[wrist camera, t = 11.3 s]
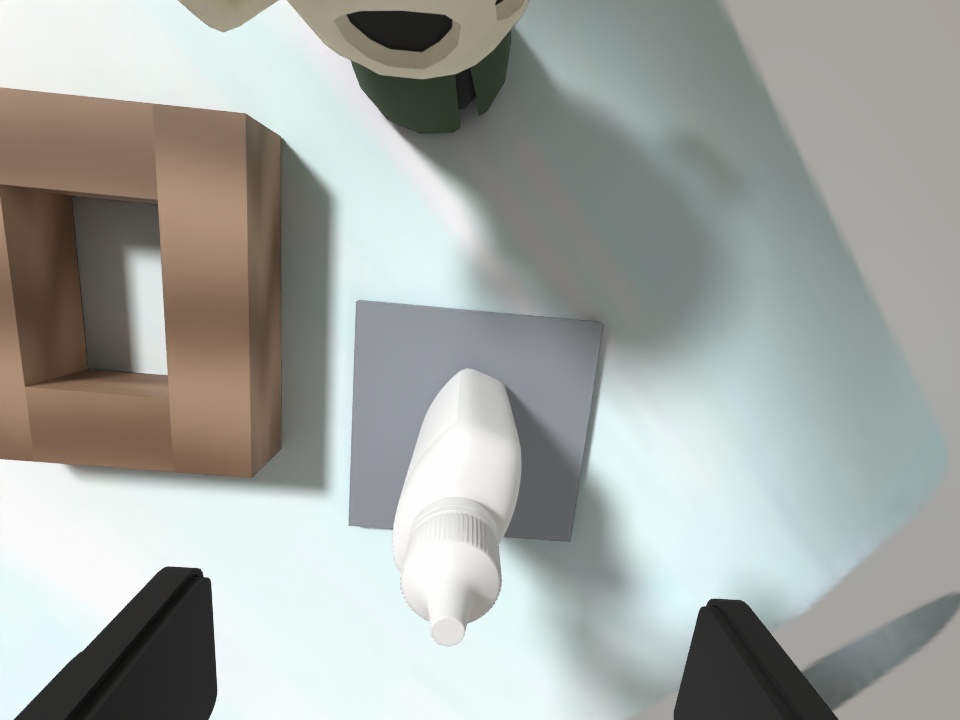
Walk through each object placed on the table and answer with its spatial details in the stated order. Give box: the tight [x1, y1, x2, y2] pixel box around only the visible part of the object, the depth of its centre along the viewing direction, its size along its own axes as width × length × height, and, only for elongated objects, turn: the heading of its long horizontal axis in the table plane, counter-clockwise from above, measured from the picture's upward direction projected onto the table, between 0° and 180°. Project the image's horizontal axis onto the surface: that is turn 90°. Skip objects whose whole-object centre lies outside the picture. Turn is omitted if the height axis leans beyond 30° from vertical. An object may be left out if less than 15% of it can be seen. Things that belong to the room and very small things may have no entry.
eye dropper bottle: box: [392, 368, 521, 646], centre depth 15 cm, size 4×6×12 cm
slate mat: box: [349, 300, 603, 542], centre depth 21 cm, size 11×11×1 cm
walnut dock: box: [0, 88, 281, 478], centre depth 19 cm, size 14×12×3 cm
